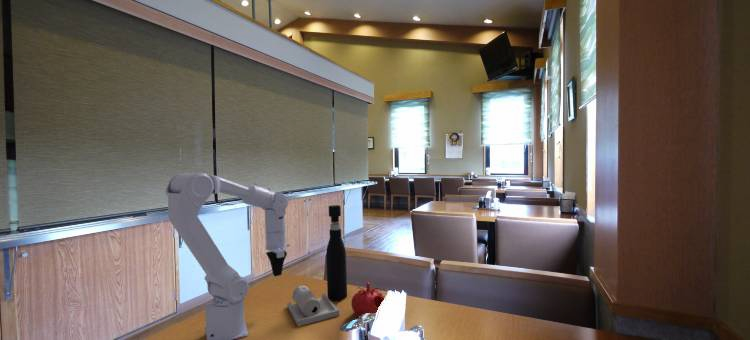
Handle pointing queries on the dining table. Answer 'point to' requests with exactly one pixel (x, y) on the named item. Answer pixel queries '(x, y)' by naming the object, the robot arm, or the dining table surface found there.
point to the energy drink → (306, 301)
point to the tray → (325, 312)
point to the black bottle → (336, 259)
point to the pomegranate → (366, 300)
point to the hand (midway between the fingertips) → (277, 275)
